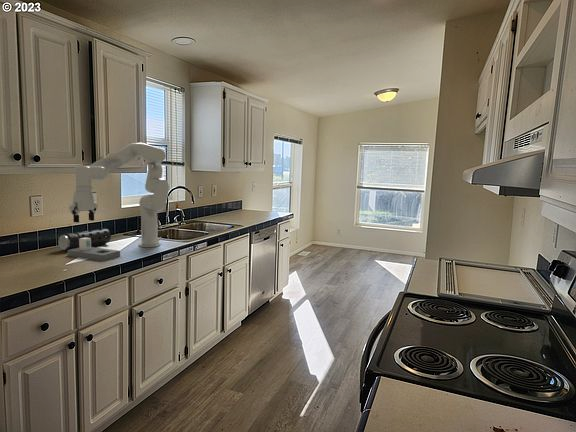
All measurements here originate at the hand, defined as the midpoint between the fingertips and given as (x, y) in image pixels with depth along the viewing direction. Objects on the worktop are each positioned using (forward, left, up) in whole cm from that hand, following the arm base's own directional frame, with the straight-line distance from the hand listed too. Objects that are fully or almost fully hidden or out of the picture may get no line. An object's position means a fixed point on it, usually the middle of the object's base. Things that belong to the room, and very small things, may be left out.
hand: (84, 221), depth 206 cm
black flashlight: (-14, -15, -19) cm, 28 cm away
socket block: (0, +6, -19) cm, 20 cm away
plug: (0, 0, -18) cm, 18 cm away
